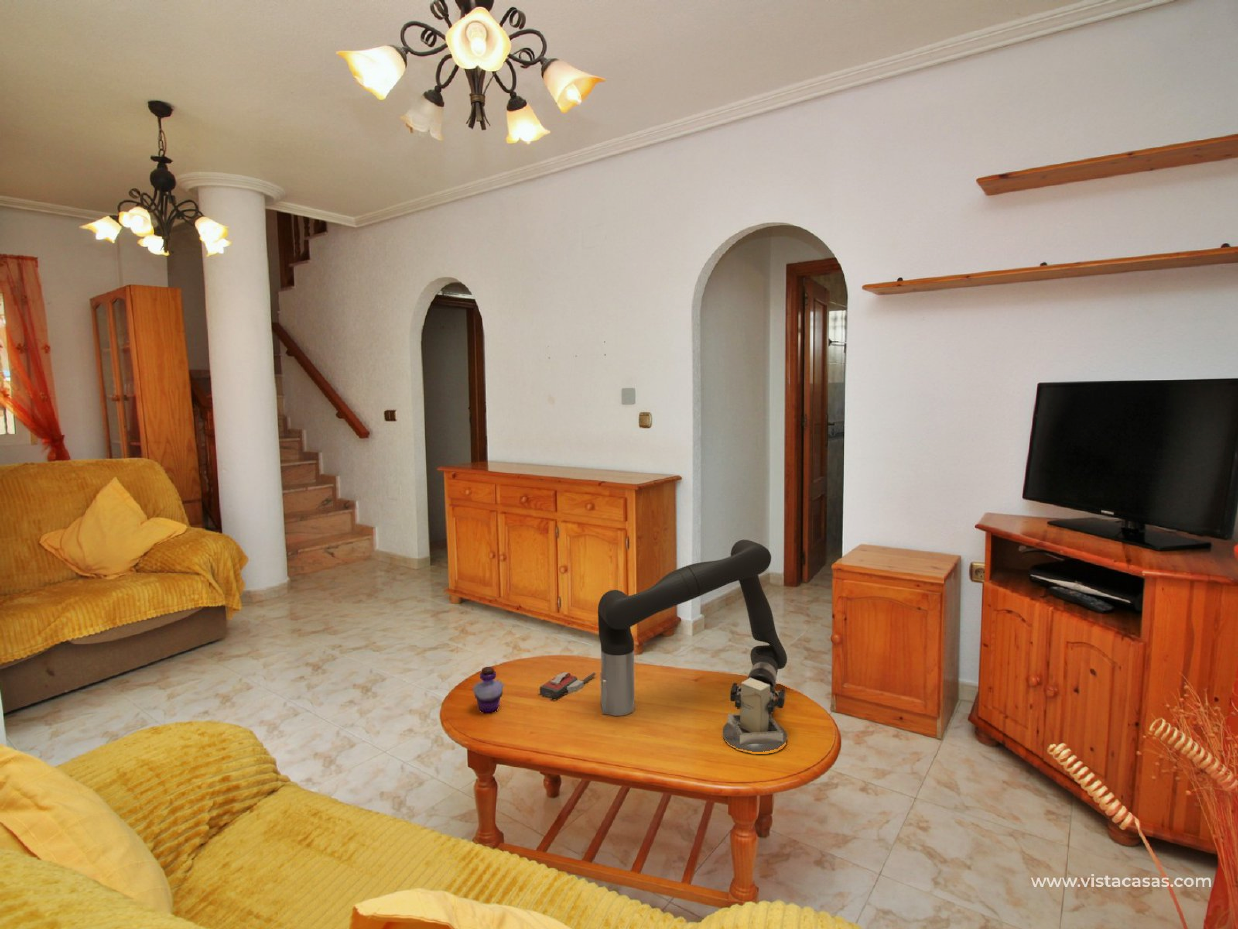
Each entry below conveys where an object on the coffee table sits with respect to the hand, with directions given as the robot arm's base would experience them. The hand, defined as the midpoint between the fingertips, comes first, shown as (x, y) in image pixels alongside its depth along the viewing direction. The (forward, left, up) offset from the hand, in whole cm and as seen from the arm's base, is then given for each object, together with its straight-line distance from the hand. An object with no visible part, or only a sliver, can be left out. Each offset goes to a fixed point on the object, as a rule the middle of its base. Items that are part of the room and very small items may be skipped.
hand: (753, 708), depth 166 cm
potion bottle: (-68, +26, -9) cm, 73 cm away
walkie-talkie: (-46, +38, -10) cm, 60 cm away
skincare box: (+1, +2, -7) cm, 7 cm away
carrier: (+1, +2, -9) cm, 9 cm away
